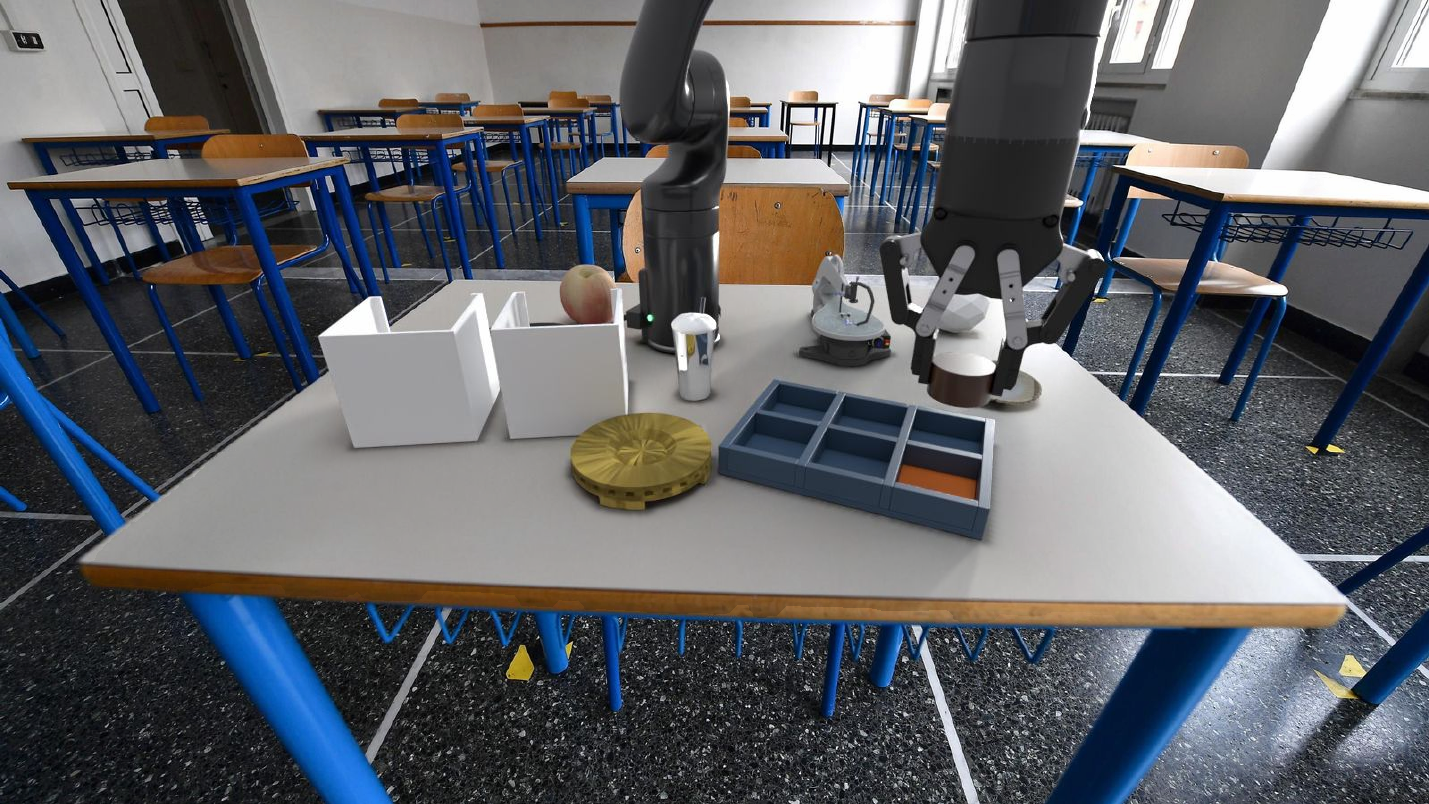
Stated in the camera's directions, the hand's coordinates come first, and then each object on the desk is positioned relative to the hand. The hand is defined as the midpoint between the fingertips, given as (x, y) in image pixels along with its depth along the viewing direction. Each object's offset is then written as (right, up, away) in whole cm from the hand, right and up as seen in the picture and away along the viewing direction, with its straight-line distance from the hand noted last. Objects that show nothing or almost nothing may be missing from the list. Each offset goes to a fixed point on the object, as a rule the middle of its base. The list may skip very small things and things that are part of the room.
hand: (959, 384), depth 44 cm
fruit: (-35, +10, +41) cm, 55 cm away
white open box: (-39, -2, +18) cm, 43 cm away
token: (0, -1, 0) cm, 1 cm away
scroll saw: (-2, +7, +36) cm, 37 cm away
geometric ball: (+15, +9, +39) cm, 43 cm away
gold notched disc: (-24, -7, +9) cm, 27 cm away
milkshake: (-20, 0, +22) cm, 29 cm away
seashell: (+13, -1, +21) cm, 25 cm away
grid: (-5, -6, +10) cm, 13 cm away
